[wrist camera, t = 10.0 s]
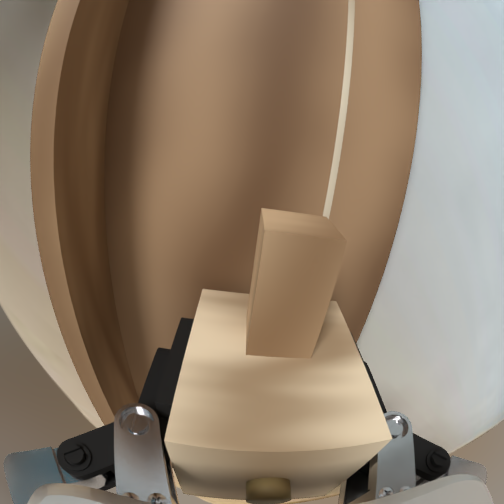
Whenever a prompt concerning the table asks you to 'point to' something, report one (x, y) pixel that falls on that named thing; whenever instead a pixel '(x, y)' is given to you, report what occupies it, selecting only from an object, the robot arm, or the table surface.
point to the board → (210, 158)
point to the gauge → (275, 378)
